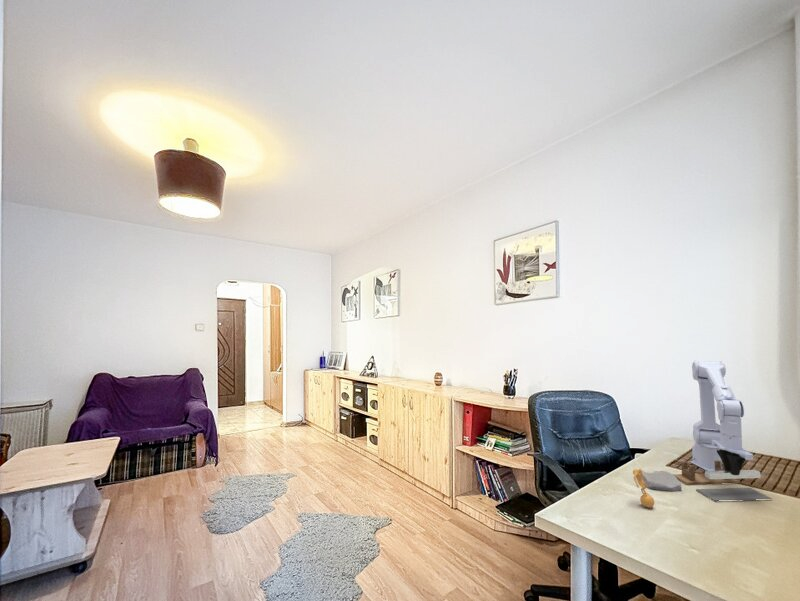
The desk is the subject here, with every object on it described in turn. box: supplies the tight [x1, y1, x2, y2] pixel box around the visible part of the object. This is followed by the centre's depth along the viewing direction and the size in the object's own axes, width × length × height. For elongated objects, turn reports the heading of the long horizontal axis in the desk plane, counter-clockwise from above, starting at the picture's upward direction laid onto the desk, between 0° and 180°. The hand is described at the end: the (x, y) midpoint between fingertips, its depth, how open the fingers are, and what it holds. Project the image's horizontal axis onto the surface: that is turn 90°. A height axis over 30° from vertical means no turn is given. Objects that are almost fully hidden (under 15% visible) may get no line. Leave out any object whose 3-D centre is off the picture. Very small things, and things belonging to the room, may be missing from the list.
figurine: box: [632, 468, 655, 508], centre depth 130 cm, size 8×6×12 cm
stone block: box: [642, 470, 683, 492], centre depth 144 cm, size 12×5×10 cm
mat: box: [695, 487, 773, 502], centre depth 136 cm, size 8×20×1 cm, turn 91°
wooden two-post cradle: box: [672, 460, 740, 486], centre depth 148 cm, size 20×7×6 cm, turn 91°
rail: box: [704, 469, 762, 480], centre depth 136 cm, size 18×2×2 cm, turn 91°
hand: (732, 473), depth 136 cm, fingers closed on rail, 2 cm apart
